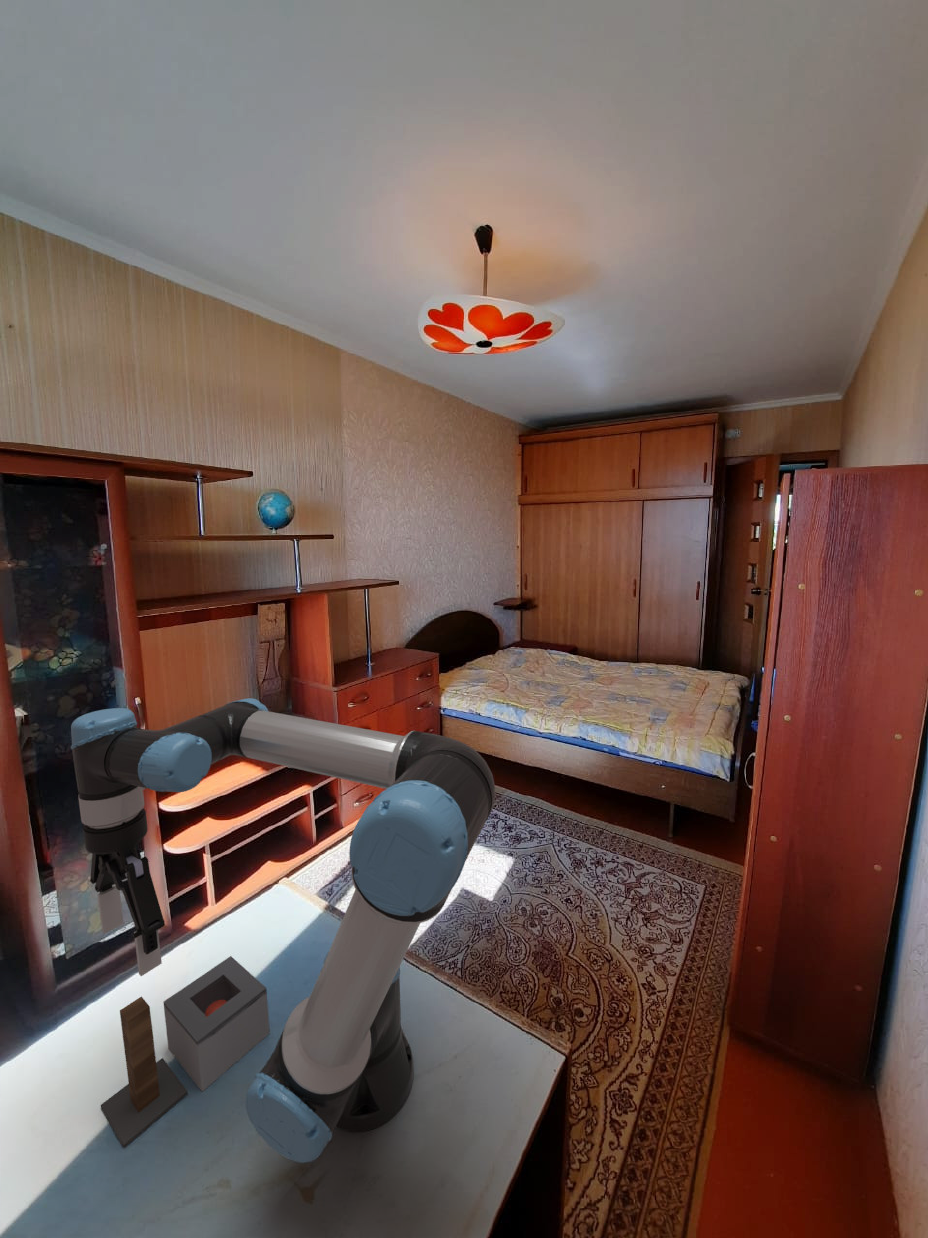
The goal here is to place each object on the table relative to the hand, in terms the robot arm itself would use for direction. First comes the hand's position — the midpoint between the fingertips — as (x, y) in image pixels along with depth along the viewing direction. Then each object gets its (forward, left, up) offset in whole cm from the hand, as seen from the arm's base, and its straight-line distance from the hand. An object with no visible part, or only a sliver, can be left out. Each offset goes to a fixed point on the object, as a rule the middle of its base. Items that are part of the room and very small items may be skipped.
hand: (130, 947), depth 75 cm
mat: (0, +1, -27) cm, 27 cm away
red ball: (0, -11, -25) cm, 27 cm away
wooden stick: (0, 0, -26) cm, 26 cm away
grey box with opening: (0, -11, -27) cm, 29 cm away
